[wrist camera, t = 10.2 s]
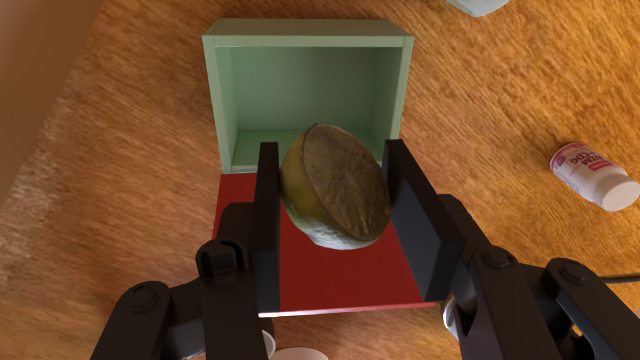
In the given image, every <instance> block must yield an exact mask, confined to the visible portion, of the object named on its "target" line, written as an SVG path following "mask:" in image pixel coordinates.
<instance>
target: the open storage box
mask: <svg viewBox="0 0 640 360" xmlns="http://www.w3.org/2000/svg"><path fill="white" fill-rule="evenodd" d="M413 41H414V36H413V35H411V34H409V33H408V32H406V31H404V30H403V29H401V28H399V27H398V26H396V25H395V24H393V23H391V22H390V21H388V20H386V19H280V18H219V19H218V20H217V21H216V22H215V23H214V24H213V25H212V26H211V27H210V28H209V29H208V30H207V31H206V32H205V33H204V34H202V42H203V48H204V55H205V61H206V68H207V74H208V81H209V87H210V94H211V100H212V107H213V113H214V120H215V126H216V133H217V139H218V146H219V152H220V159H221V165H222V172H223V174H230V173H257V169H258V160H259V151H260V142H278V148H279V169H280V166H281V164H282V161H283V159H284V157H285V155H286V154H287V152H288V150H289V149H290V147H291V146H292V144H293V143H294V141H295V140H296V139H297V138H298V137H299V136H300V135H301V134H303V133H304V132H305V131H306V130H307V129H308V128H310V127H311V126H313V125H314V124H315V123H321V124H322V125H324V124H328V125H332V126H336V127H339V128H341V129H343V130H345V131H347V132H348V133H350V134H351V135H352V136H354V137H355V138H356V139H357V140H359V141H360V142H362V143H363V144H364V145H365V146H366V147H367V148H368V150H370V152H371V153H372V155H373V157H374V158H375V160H376V162H377V163H379V165H380V168H381V165H382V158H383V151H384V143H385V139H398V136H399V130H400V124H401V117H402V111H403V105H404V98H405V92H406V86H407V79H408V73H409V67H410V60H411V54H412V47H413Z"/></svg>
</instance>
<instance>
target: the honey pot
mask: <svg viewBox="0 0 640 360" xmlns="http://www.w3.org/2000/svg"><path fill="white" fill-rule="evenodd" d="M268 359H269V360H328V358H327V357H326V356H325V355H324V354H323V353H321V352H319V351H317V350H314V349H311V348H303V347H295V348H287V349H282V350H279V351H277V352H274V353H273V355H272V356H271V357H270V358H268Z"/></svg>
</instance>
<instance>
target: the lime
mask: <svg viewBox="0 0 640 360" xmlns="http://www.w3.org/2000/svg"><path fill="white" fill-rule="evenodd" d="M278 184H279V191H280V198H281V201H282V204H283V206H284V208H285V210H286V212H287V214H288V215H289V217H290V218H291V220H292V222H293V223H294V225H295V226H296V227H297V228H299V229H300V230H302V231H303V232H305V233H306V234H307V235H308V237H309V238H310V239H311V240H312V241H313V242H314V243H315V244H317V245H320V246H324V247H329V248H333V249H340V250H344V249H356V248H361V247H365V246H368V245H370V244H373V243H374V242H376V240H377V239H378V238H379V237H380V236H381V235H382V234H383V232H384V230H385V229H386V227H387V225H388V222H389V220H390V217H391V215H392V205H391V201H390V197H389V191H388V187H387V181H386V179H385V177H384V176H383V172H382V171H381V168H380V165H379V163H377V162H376V160H375V158H374V157H373V155H372V153H371V152H370V150H368V148H367V147H366V146H365V145H364V144H363V143H362V142H360V141H359V140H357V139H356V138H355V137H354V136H352V135H351V134H350V133H348V132H347V131H345V130H343V129H341V128H339V127H336V126H332V125H328V124H324V125H322V124H321V123H315V124H314V125H313V126H311V127H310V128H308V129H307V130H306V131H305V132H304V133H303V134H301V135H300V136H299V137H298V138H297V139H296V140H295V141H294V143H293V144H292V146H291V147H290V149H289V150H288V152H287V154H286V155H285V157H284V159H283V161H282V164H281V166H280V170H279V175H278Z"/></svg>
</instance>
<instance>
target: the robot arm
mask: <svg viewBox="0 0 640 360" xmlns="http://www.w3.org/2000/svg"><path fill="white" fill-rule="evenodd" d="M279 170H280V169H279V148H278V142H260V151H259V160H258V169H257V178H256V187H255V195H254V202H235V203H229V204H228V205H227V206H226V208H225V209H224V210H223V211H222V213H221V218H220V224H219V226H218V232H217V235H216V239H213V240H210V241H208V242H207V243H205V244H204V245H202V246H201V247H200V249H199V250H198V251H197V254H196V258H195V260H196V264H197V268H198V272H199V276H200V277H198V278H196V279H195V280H193V281H191V282H188V283H186V284H183V285H180V286H177V287H173V288H170V289H169V288H168V286H167V285H166V284H164V283H162V282H159V281H147V282H142V283H140V284H137V285H135V286H133V287H131V288H130V289H129V290H127V291H126V292H125V293H123V294H122V296H121V297H120V299H119V300H118V301H117V303H116V305H115V307H114V309H113V311H112V314H111V316H110V318H109V320H108V322H107V324H106V326H105V328H104V330H103V332H102V335H101V337H100V339H99V341H98V343H97V345H96V347H95V349H94V351H93V354H92V356H91V358H90V360H188V358H190V357H193V356H195V355H198V354H200V353H203V352H206V360H269V359H268V354H267V350H266V345H265V341H264V336H263V332H262V328H261V323H260V319H259V314H258V313H268V312H280V228H281V198H280V191H279V184H278V175H279ZM381 171H382V172H383V176H384V177H385V179H386V181H387V187H388V191H389V197H390V201H391V205H392V215H391V217H390V220H391V223H392V225H393V228H394V230H395V233H396V235H397V238H398V240H399V242H400V245H401V247H402V250H403V252H404V255H405V257H406V260H407V262H408V265H409V267H410V270H411V272H412V274H413V277H414V279H415V282H416V284H417V287H418V289H419V292H420V294H421V297H422V299H423V302H439V301H443V302H442V304H441V316H442V318H443V320H444V323H445V325H446V327H447V328H448V329H449V331H450V332H451V333H452V334H453V335H454V336H455V337H456V338H457V340H458V341H459V345H460V350H461V355H462V360H640V319H639V318H638V317H637V316H636V315H635V314H634V313H633V312H632V311H631V310H630V309H629V308H628V307H627V306H626V305H625V304H624V303H623V302H622V301H621V300H620V298H619V297H618V296H617V295H616V294H615V293H614V292H613V291H612V290H611V289H610V288H609V287H608V286H607V285H606V284H605V283H607V284H613V283H627V282H637V281H640V276H631V277H619V278H599V277H598V276H597V275H596V274H595V273H594V272H593V271H591V270H590V269H589V268H588V267H586V266H585V265H583V264H581V263H579V262H577V261H574V260H571V259H568V258H554V259H551V260H550V261H549V262H548V264H547V266H546V267H545V268H542V267H537V266H532V265H526V264H522V263H519V262H518V261H517V259H516V258H515V257H514V256H513V255H512V254H511V253H509V252H508V251H507V250H504V249H502V248H500V247H497V246H493V245H492V244H491V243H490V242H489V240H488V239H487V237H486V236H485V235H484V233H483V232H482V230H481V229H480V228H479V226H478V225H477V224H476V222H475V221H474V220H473V218H472V217H471V215H470V214H469V212H468V213H467V210H466V208H465V207H464V205H463V204H462V203H461V201H459V200H458V199H456V198H455V197H454V196H452V195H451V194H437V193H436V192H435V190H434V189H433V187H432V185H431V184H430V182H429V181H428V179H427V178H426V176H425V175H424V173H423V171H422V170H421V168H420V167H419V165H418V164H417V162H416V161H415V159H414V158H413V156H412V154H411V153H410V151H409V150H408V148H407V147H406V145H405V144H404V142H403V140H402V139H385V143H384V151H383V158H382V165H381ZM574 325H576V326H577V327H578V329H579V330H580V331H581V332H582V336H581V337H580V336H578V335H577V334H576V333H575V332H574V330H573V329H572V328H573V326H574Z"/></svg>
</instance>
